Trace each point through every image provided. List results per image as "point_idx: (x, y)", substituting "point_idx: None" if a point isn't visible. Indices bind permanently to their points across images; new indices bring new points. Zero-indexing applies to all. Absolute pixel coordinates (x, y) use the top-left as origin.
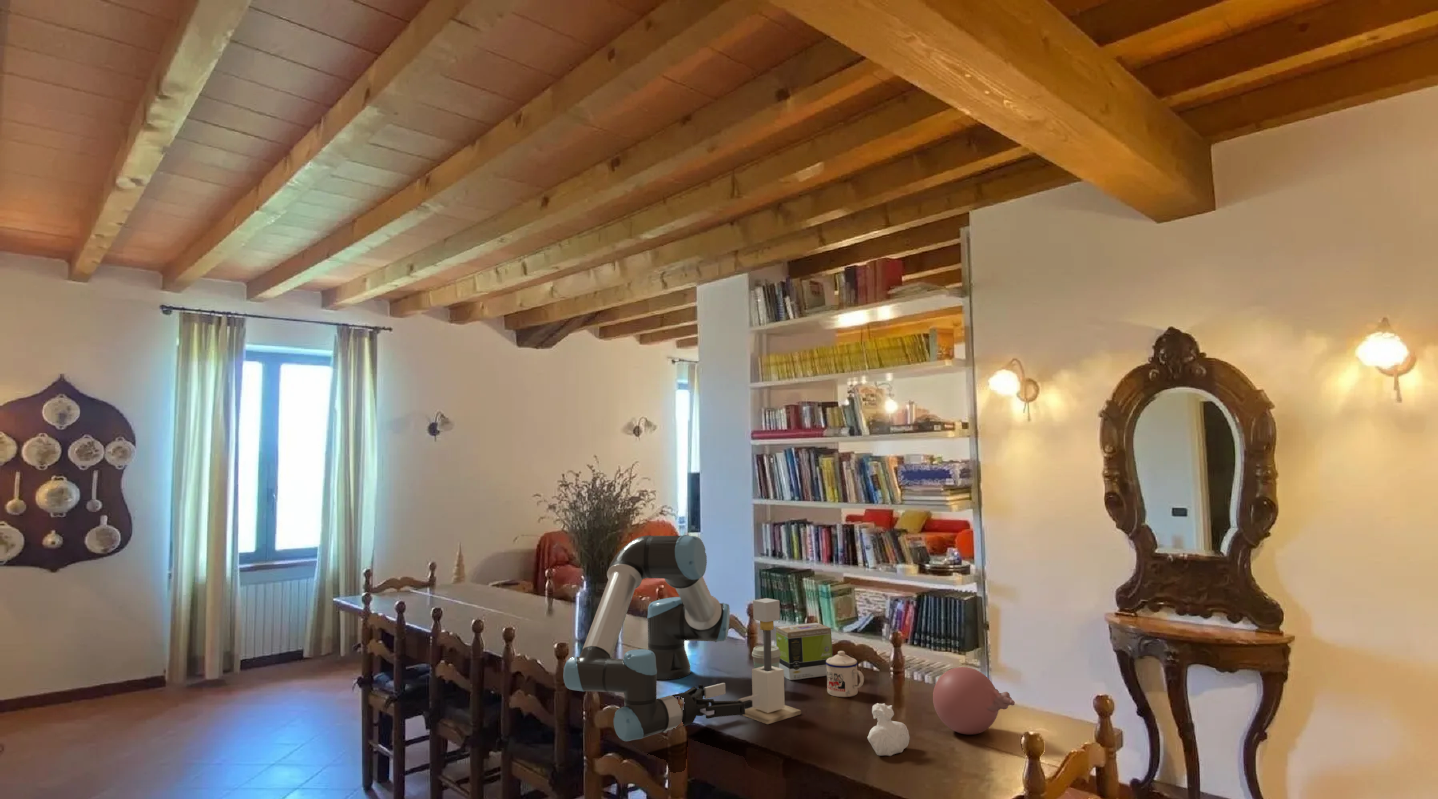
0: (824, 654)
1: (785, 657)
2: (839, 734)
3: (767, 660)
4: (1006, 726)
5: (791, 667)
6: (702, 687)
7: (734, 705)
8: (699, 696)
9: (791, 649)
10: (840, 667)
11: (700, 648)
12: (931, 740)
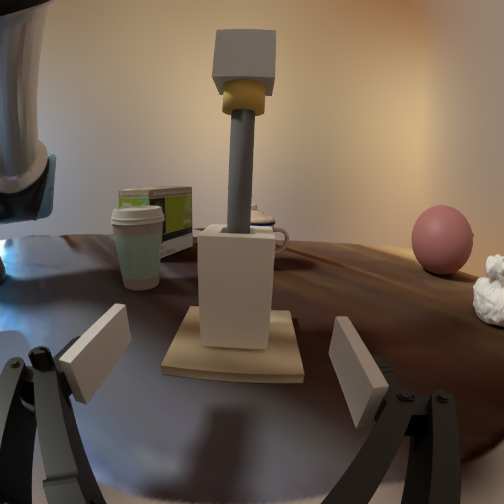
0: (186, 221)
1: None
2: (422, 329)
3: (247, 202)
4: None
5: None
6: (50, 360)
7: (456, 434)
8: (76, 450)
9: None
10: (266, 225)
11: (15, 246)
12: (455, 290)
